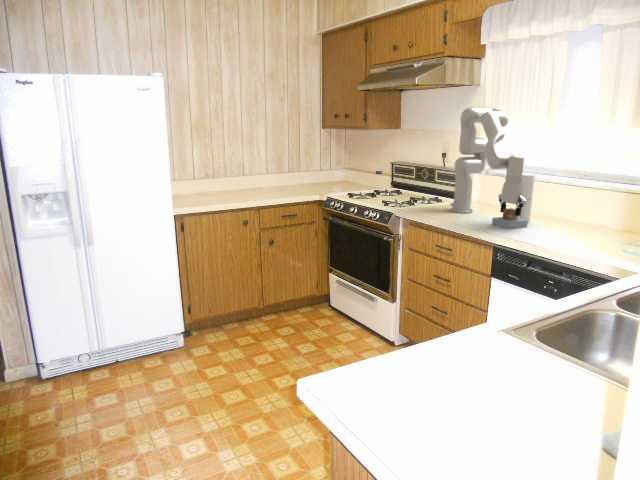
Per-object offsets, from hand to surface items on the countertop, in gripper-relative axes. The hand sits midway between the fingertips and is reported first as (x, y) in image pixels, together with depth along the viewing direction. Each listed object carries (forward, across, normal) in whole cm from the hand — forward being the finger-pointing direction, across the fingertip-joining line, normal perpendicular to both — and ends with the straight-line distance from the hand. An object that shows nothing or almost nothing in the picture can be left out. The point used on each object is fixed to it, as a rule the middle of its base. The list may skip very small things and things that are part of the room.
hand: (510, 213), depth 254 cm
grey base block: (+7, 0, 0) cm, 7 cm away
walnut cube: (+3, 0, 0) cm, 3 cm away
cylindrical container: (+6, -5, +15) cm, 17 cm away
